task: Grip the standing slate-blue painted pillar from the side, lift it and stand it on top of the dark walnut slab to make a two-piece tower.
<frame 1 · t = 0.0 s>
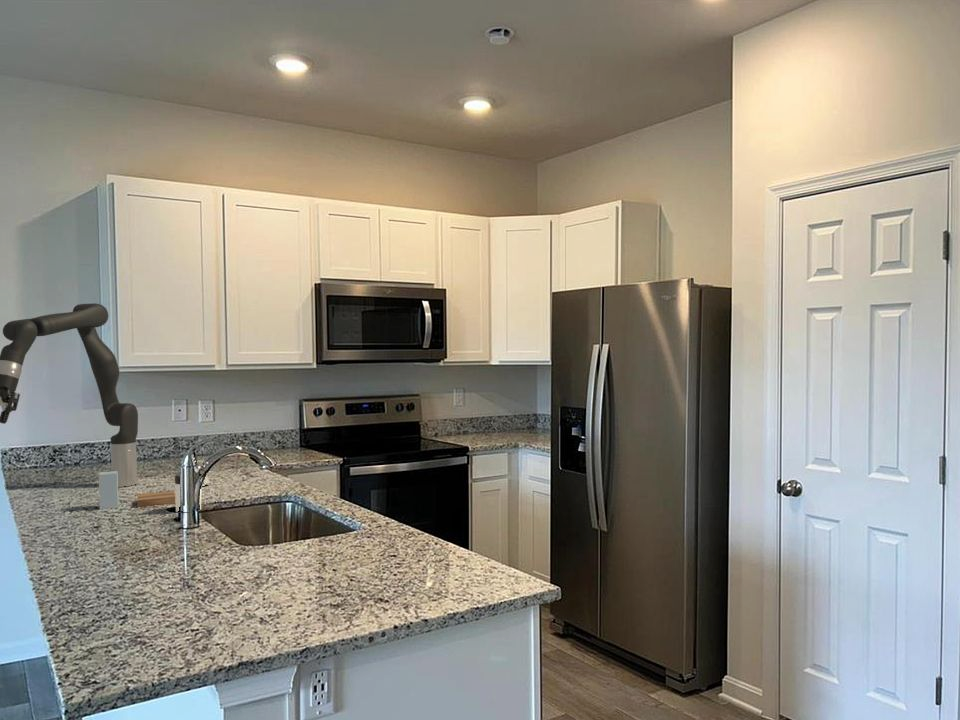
flask: (201, 486, 285), on the worktop
jar: (188, 510, 241), on the worktop
pillar: (109, 507, 249), on the worktop
slab: (156, 503, 255), on the worktop
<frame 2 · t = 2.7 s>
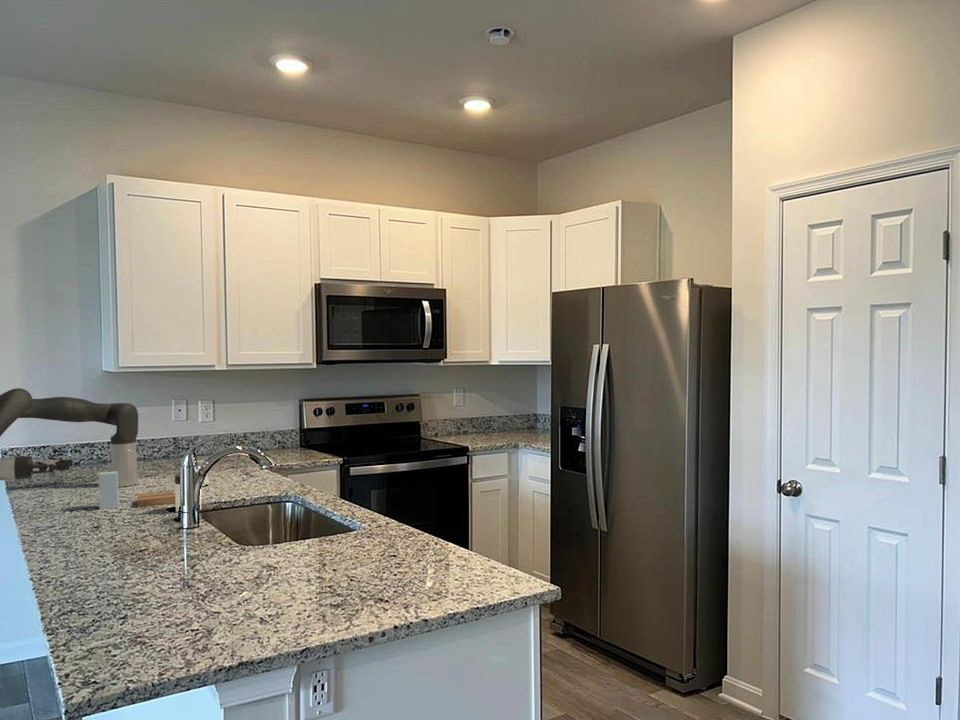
hand: (71, 464, 244), 16 cm above the worktop, tool horizontal, fingers open, 8 cm apart
nothing on the worktop moved.
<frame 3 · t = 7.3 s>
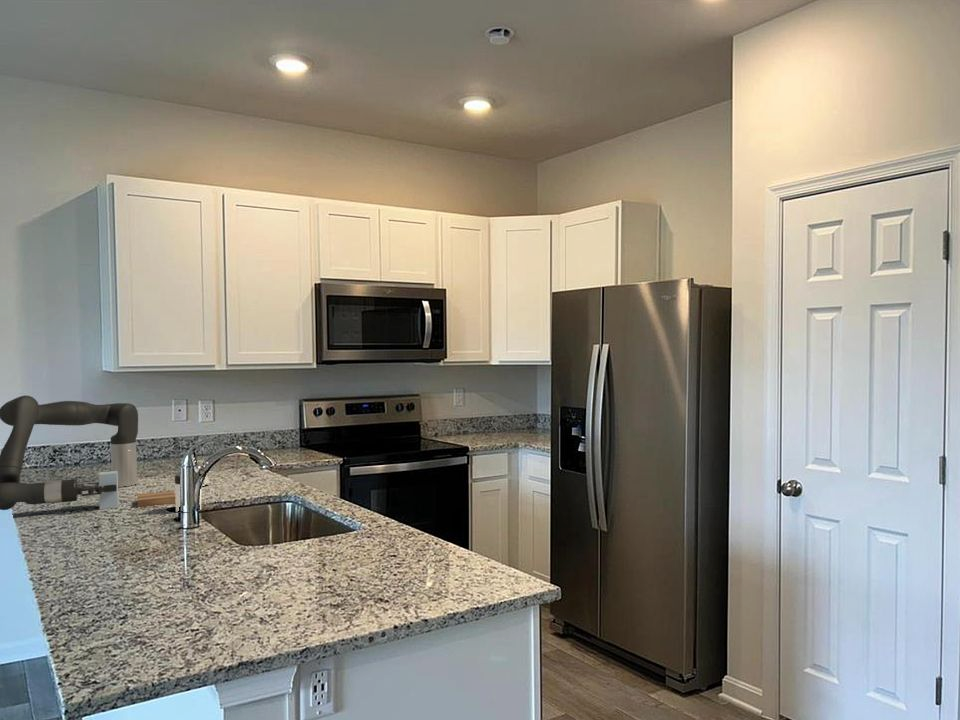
hand: (116, 486, 250), 7 cm above the worktop, tool horizontal, fingers closed on pillar, 5 cm apart
pillar: (109, 507, 249), on the worktop, touching gripper
everything else where it was.
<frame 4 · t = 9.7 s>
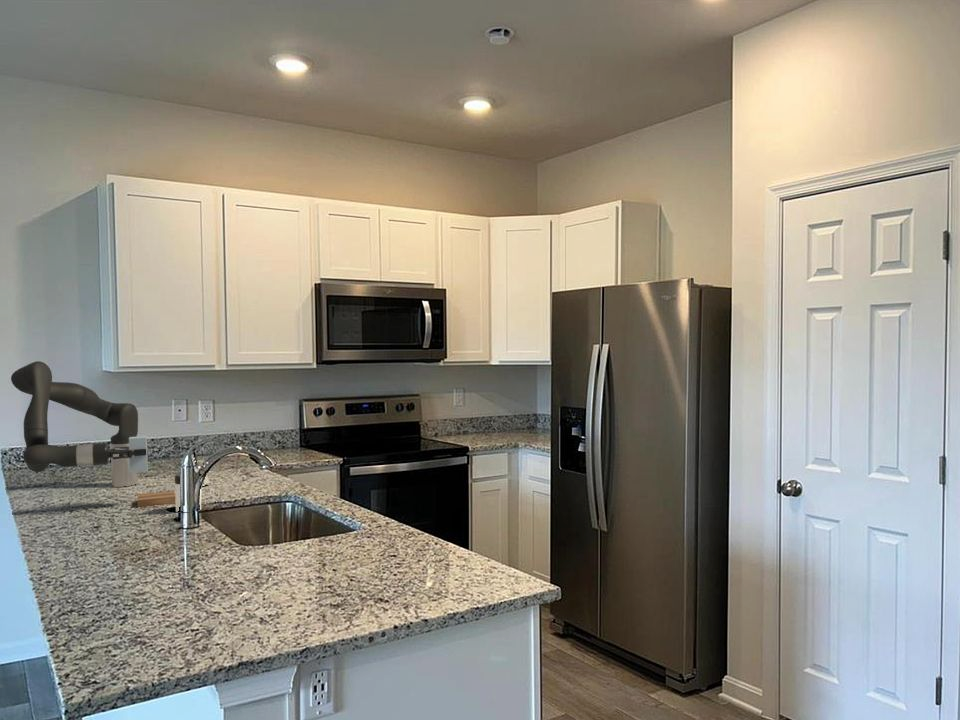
hand: (146, 450, 253), 19 cm above the worktop, tool horizontal, fingers closed on pillar, 5 cm apart
pillar: (138, 471, 252), point 12 cm above the worktop, touching gripper
everything else where it was.
when the fingers open (11 cm above the worktop, at t = 12.4 s): pillar drops 2 cm, resting on slab.
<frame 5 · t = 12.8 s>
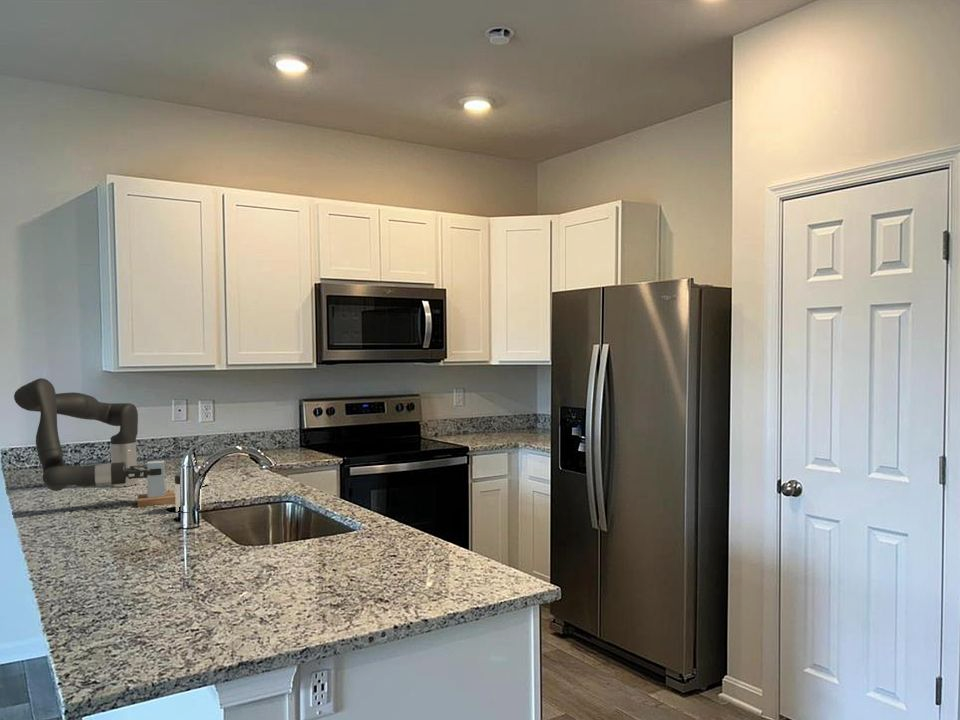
hand: (161, 469, 255), 11 cm above the worktop, tool horizontal, fingers open, 8 cm apart
pillar: (156, 495, 255), point 2 cm above the worktop, touching slab
slab: (156, 504, 255), on the worktop, touching pillar
everything else where it was.
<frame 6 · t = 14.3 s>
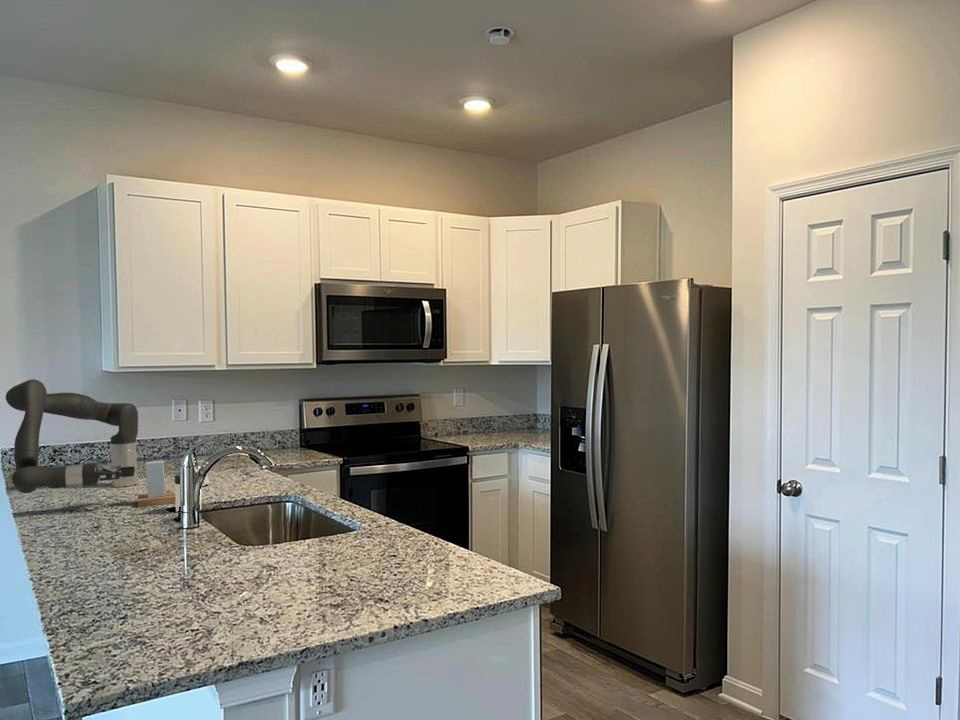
hand: (134, 471, 252), 12 cm above the worktop, tool horizontal, fingers open, 8 cm apart
pillar: (156, 495, 255), point 2 cm above the worktop
slab: (156, 504, 255), on the worktop
everything else where it was.
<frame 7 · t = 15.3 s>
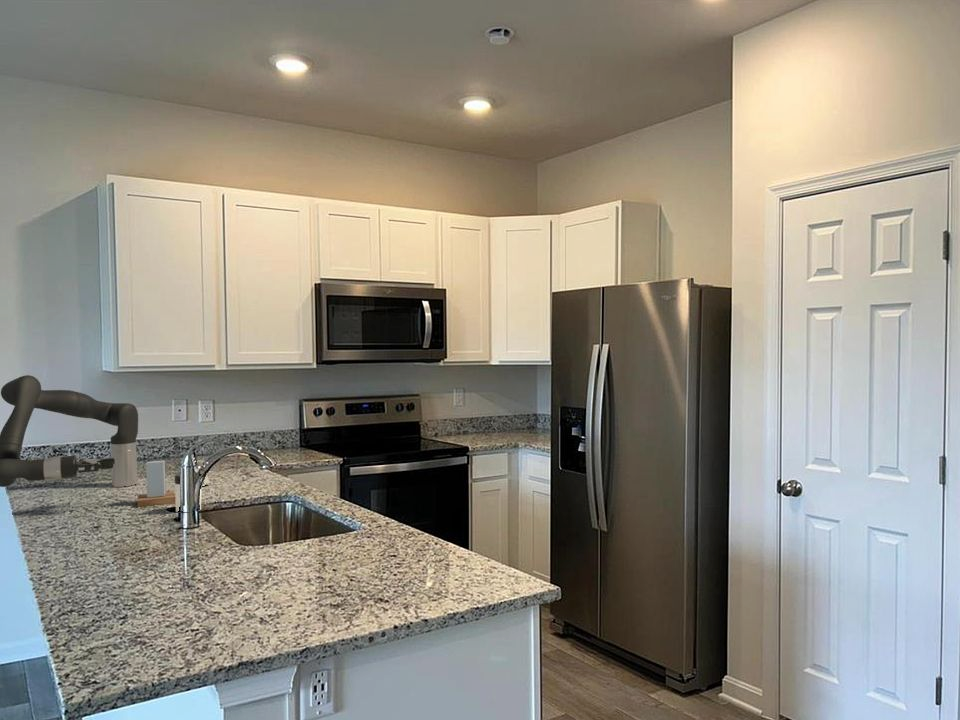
hand: (113, 462, 250), 15 cm above the worktop, tool horizontal, fingers open, 8 cm apart
nothing on the worktop moved.
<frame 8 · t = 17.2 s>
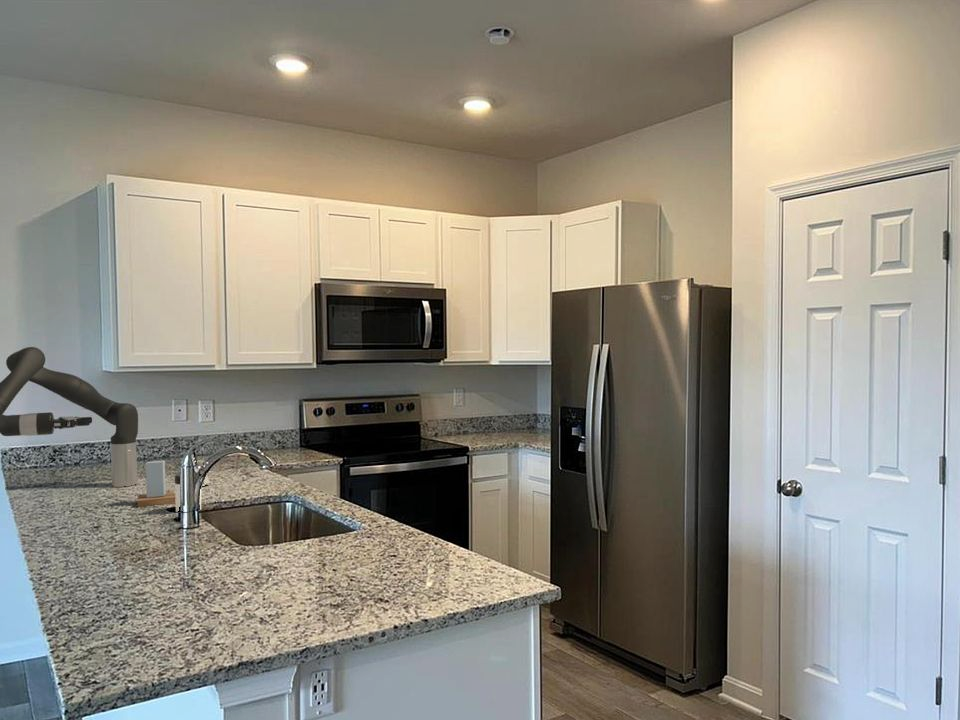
hand: (90, 421, 250), 30 cm above the worktop, tool horizontal, fingers open, 8 cm apart
nothing on the worktop moved.
at the end: pillar inside the target area on the slab (0.1 cm from its centre), point 3.1 cm above the slab's base; pillar tilted 2°; the gripper is holding nothing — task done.
